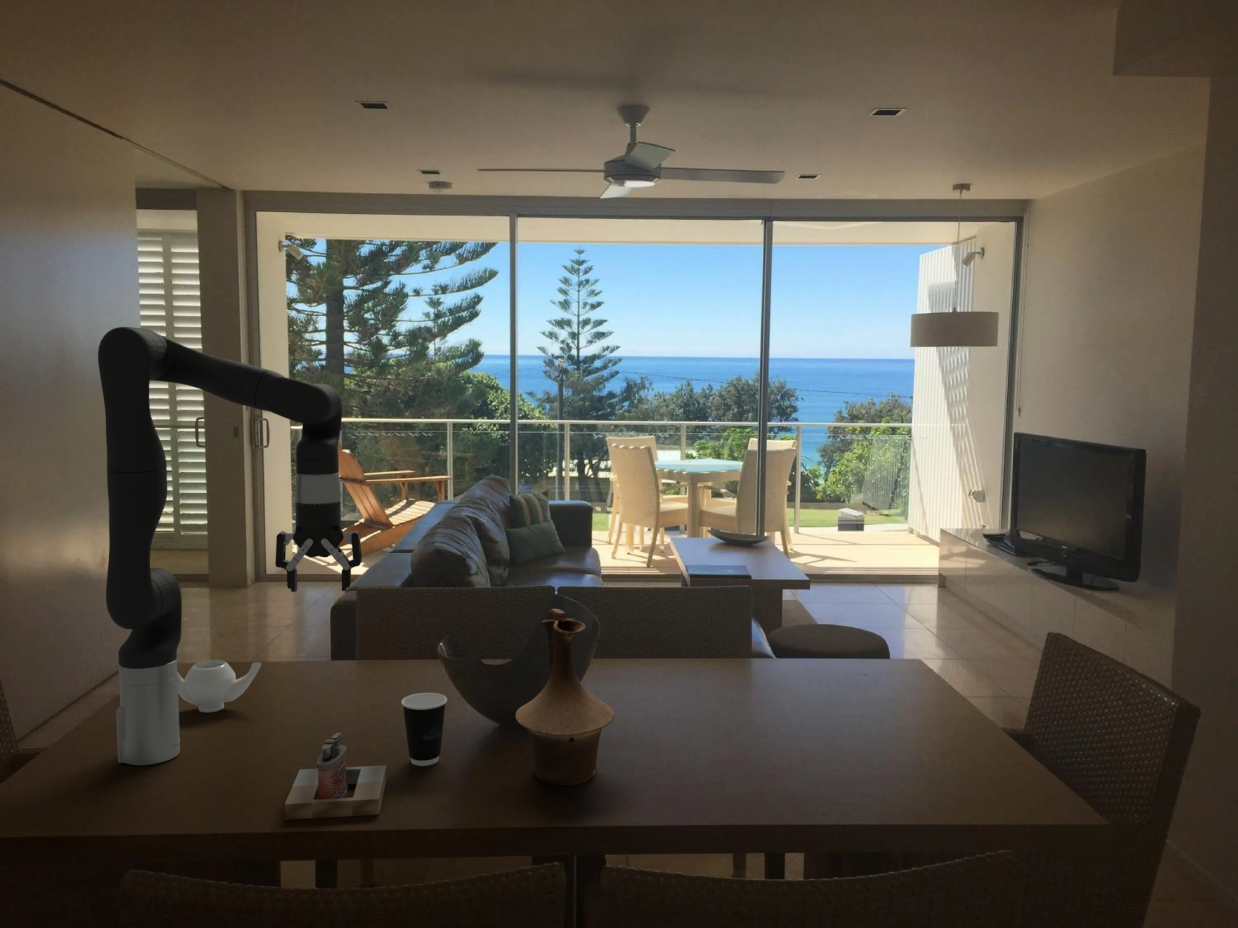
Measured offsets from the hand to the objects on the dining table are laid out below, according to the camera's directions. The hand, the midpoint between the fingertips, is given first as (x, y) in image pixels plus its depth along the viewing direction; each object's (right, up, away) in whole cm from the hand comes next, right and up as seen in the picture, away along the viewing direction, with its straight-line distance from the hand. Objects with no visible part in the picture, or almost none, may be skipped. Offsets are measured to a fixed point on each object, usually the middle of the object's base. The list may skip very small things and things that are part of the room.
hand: (319, 590), depth 169 cm
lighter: (+7, -32, -14) cm, 35 cm away
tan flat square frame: (+7, -32, -14) cm, 35 cm away
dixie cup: (+18, -30, +2) cm, 35 cm away
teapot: (-30, -28, +27) cm, 49 cm away
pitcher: (+43, -31, -3) cm, 53 cm away
